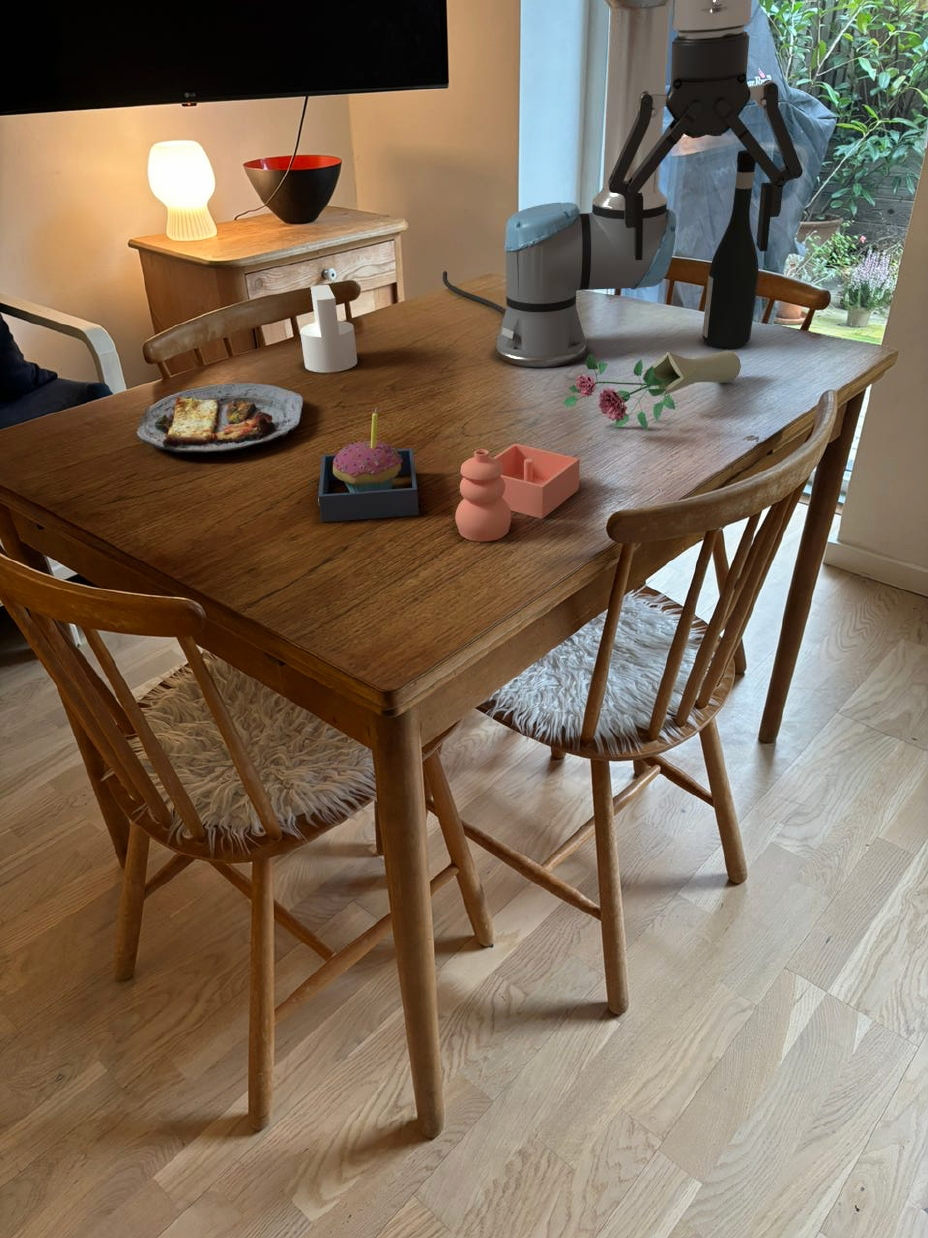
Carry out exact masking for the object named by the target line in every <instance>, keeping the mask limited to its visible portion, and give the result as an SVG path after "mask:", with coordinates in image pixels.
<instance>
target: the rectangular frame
mask: <svg viewBox="0 0 928 1238" xmlns="http://www.w3.org/2000/svg"><path fill="white" fill-rule="evenodd" d="M395 450H396V451H397V452H398V453H399V455H401V457H402V463H401V470H400V471H399V472H398V474H397V476H396V477H399V476H410V479H411V487H407V488H394V489H393V488H391V490H378V491H364V492H351V493H350V492H341V493H340V492H339V493H329V486H330V481H341V480H340V479H338V478H337V477H336V476H335V475H334V474H333V464H334V463H333V461H334V458H335V457H336V455H335V454H336V453H334V454H322V455H321V463H320V474H319V483H318V485H319V486H318V496H317V503H318V504H317V505H318V506H319V512H320V518H321V523H332V522H333V523H334V522H345V521H358V520H370V519H371V520H372V519H383V518H384V519H385V518H398V517H411V516H419V515H420V511H419V509H420V508H419V497H418V496H419V495H418V485H417V476H416V466H415V465H416V464H415V455H414V454H415V453H414V448H401V449H395Z"/></svg>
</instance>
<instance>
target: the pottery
mask: <svg viewBox="0 0 928 1238" xmlns="http://www.w3.org/2000/svg"><path fill="white" fill-rule="evenodd" d="M473 455H474V456H473V457H470V458H468V459H466V460H465V461H464V462H462V464H461V467H460V474H461V476H462V477H463V478H462V479H461V481H460V484H459V492H460V494H461V496H462V498H463V499H462V500H461V501H460V502H459V504H458V506H457V508H456V510H455V516H454V519H455V523H456V526H457V530H458V532H459V534H460V536H461V537H463V538H465V539H467V540H469V541H474V542H482V543H483V542H492V541H496V540H499V539H501V538H503V537H505V536H506V535H507V534H508V533H509V530H510V527H511V523H512V512H514V513H515V512H516V513H520V514H523V515H526V516H530V517H533V518H537V519H541V520H543V519H544V518H545V517H547V516H548V515H549V514H550V513H552V512H553V511H554V510H556V509H557V508H558V507H559V506H560V505H561V504H563V503H564V502H565V501H566V500H567V499H569V498H570V497H571V496H573V495H574V494H575V493H576V492H577V491H579V490H580V465H581V464H580V461H581V460H580V458H578V457H574V456H570V455H567V454H562V453H558V452H554V451H549V450H544V449H540V448H536V447H531V446H527V445H524V444H519V443H512V444H511V445H510V446H508V447H507V448H505V449H504V450H503V451H501V452H499V453H498V454H497V455H495V456H489V455H490V453H489V450H488V449H484V448H481V449H480V448H479V449H476V450H474V452H473Z"/></svg>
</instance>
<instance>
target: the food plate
mask: <svg viewBox="0 0 928 1238" xmlns="http://www.w3.org/2000/svg"><path fill="white" fill-rule="evenodd" d="M303 401H304V398H303V396H301V394H299V393H297V392H294V391H293V390H288V389H285V388H282V387H279V386H276V385H271V384H263V383H255V382H247V383H246V382H231V383H224V384H220V383H218V384H210V385H206V386H202V387H197V388H191V389H187V390H184V391H179V392H176V393H174V394H171V395H168V396H166V397H163V398H162V399H159V401H157V402H156V403H155V404H152V405H151V406H148V407H147V408H145V410H144V412H143V414H142V416H141V418H140V421H139V423H138V427H137V430H136V431H135V432H136V435H137V437H138V439H139V440H141V441H142V443H143V442H144V443H145V444H148V445H150V446H152V447H154V448H156V449H158V450H164V451H170V452H172V453H173V452H174V453H176V454H177V453H208V452H213V453H219V454H220V453H224V452H230V451H237V450H241V449H246V448H248V447H252V446H255V445H259V444H266V443H267V444H268V443H270V442H271V441H275V440H277V439H279V440H280V441H281V440H282V438H281V437H286V435H287V434H288V433H289V431H295V429H296V428H297V427H298V425H299V424H300V423H301V415H302V408H303Z"/></svg>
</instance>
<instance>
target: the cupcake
mask: <svg viewBox="0 0 928 1238" xmlns="http://www.w3.org/2000/svg"><path fill="white" fill-rule="evenodd" d="M378 420H379V414H378V407H375V409H374V412H373V413H372V417H371V433H370V435H371V436H370V440H363V441H361V440H360V441H354V442H351V443H349V444H346V445H345V446H344V447H342V448H341V449H340V450H339V451H337V453H334V454H335V455H336V457H335V458H334V461H333V463H334V464H333V474H334V475H335V476H336V477H337V478H338V479H340V480H339V481H341V482H344V484H345V486H346V487H347V489H348V491H349V493H351V492H364V491H378V490H391V489H392V487H393V484H394V480H395V478H396V477H398V476H397V474H398V472H399V471H400V470H401V463H402V457H401V455H399V453H398V452H397V451H396V450H397V449H395V447H393V446H392V445H389V444H388V443H386V442H384V441H380V440H378V439H377V437H378V422H379V421H378Z"/></svg>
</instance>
